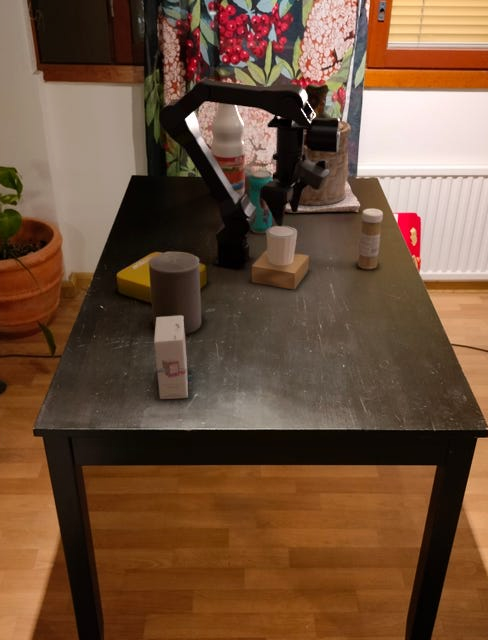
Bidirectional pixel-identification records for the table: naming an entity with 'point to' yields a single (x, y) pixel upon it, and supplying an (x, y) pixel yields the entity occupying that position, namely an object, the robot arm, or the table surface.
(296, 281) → the maple block
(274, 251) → the shot glass
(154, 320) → the pillar candle
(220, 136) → the fruit juice
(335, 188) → the cookie jar
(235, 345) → the table surface
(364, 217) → the sprinkles bottle
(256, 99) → the robot arm
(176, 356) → the ink box
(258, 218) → the beverage can
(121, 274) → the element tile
